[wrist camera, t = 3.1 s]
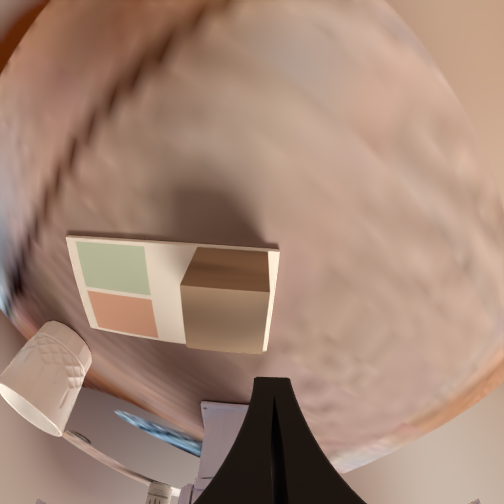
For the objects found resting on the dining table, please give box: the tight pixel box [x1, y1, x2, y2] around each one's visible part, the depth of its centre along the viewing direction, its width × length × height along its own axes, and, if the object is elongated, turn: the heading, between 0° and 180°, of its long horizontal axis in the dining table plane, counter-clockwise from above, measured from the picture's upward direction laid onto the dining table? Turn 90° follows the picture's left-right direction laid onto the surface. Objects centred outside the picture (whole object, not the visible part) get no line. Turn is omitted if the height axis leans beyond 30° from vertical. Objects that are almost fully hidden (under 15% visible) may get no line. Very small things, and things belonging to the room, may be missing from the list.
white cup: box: [0, 321, 92, 436], centre depth 19 cm, size 8×8×10 cm
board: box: [66, 235, 280, 351], centre depth 20 cm, size 9×16×1 cm, turn 86°
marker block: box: [180, 247, 270, 354], centre depth 16 cm, size 4×4×4 cm
